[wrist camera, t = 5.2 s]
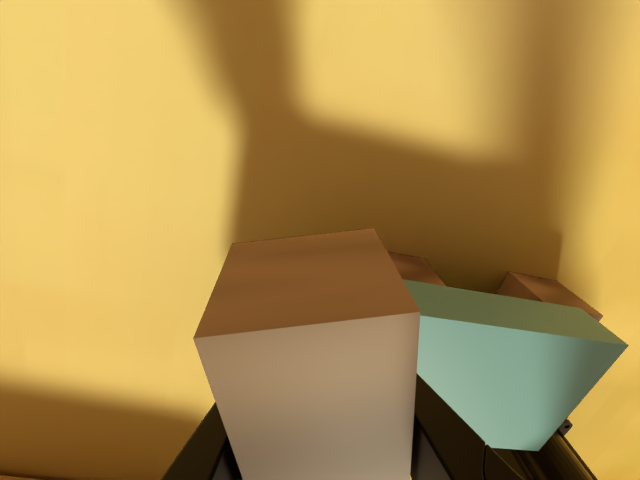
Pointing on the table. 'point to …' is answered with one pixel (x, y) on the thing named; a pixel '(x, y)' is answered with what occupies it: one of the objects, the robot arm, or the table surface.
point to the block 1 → (313, 358)
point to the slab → (509, 360)
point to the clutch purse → (14, 478)
